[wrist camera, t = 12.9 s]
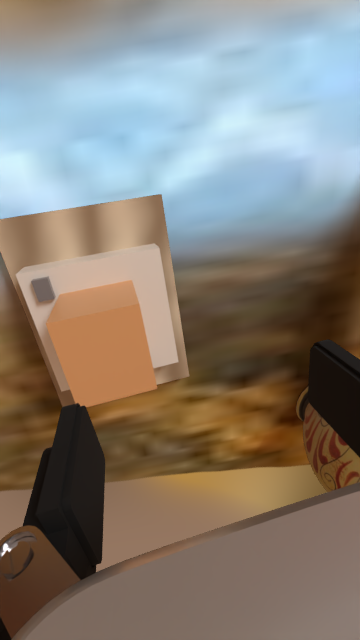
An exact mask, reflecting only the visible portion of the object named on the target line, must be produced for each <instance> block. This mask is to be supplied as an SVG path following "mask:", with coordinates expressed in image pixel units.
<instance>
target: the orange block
mask: <svg viewBox="0 0 360 640" xmlns="http://www.w3.org/2000/svg"><path fill="white" fill-rule="evenodd" d="M46 326H47V329H48V332H49V334H50V337H51V340H52V342H53V345H54V348H55V350H56V353H57V356H58V358H59V361H60V364H61V366H62V369H63V372H64V374H65V377H66V380H67V382H68V385H69V388H70V390H71V393H72V396H73V398H74V401H75V404H76V403H79V404H80V406H85V407H90V406H94V405H97V404H101V403H105V402H109V401H112V400H116V399H120V398H124V397H128V396H131V395H135V394H139V393H143V392H147V391H150V390H154V389H157V384H156V379H155V375H154V370H153V365H152V360H151V356H150V351H149V346H148V342H147V337H146V332H145V328H144V323H143V318H142V314H141V309H140V304H139V301H138V298H137V295H136V292H135V288H134V285H133V282H132V280H128V281H123V282H118V283H113V284H108V285H103V286H98V287H93V288H88V289H83V290H78V291H74V292H69V293H64V294H60V295H59V297H58V299H57V301H56V303H55V305H54V307H53V309H52V311H51V314H50V316H49V318H48V320H47V322H46Z"/></svg>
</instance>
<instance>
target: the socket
mask: <svg viewBox="0 0 360 640" xmlns="http://www.w3.org/2000/svg"><path fill="white" fill-rule="evenodd" d="M15 275H16V277H17V280H18V282H19V285H20V287H21V290H22V293H23V295H24V298H25V300H26V303H27V305H28V308H29V310H30V313H31V315H32V318H33V321H34V323H35V326H36V328H37V331H38V333H39V336H40V338H41V341H42V344H43V346H44V349H45V351H46V354H47V356H48V359H49V361H50V364H51V366H52V369H53V372H54V374H55V377H56V379H57V382H58V384H59V387H60V389H61V392H62V391H66V390H70V388H69V385H68V382H67V380H66V377H65V374H64V372H63V369H62V366H61V364H60V361H59V358H58V356H57V353H56V350H55V348H54V345H53V342H52V340H51V337H50V334H49V332H48V329H47V326H46V322H47V320H48V318H49V316H50V314H51V311H52V309H53V307H54V305H55V303H56V301H57V299H58V297H59V295H60V294H64V293H69V292H74V291H78V290H83V289H88V288H93V287H98V286H103V285H108V284H113V283H118V282H123V281H128V280H132V282H133V285H134V288H135V292H136V295H137V298H138V301H139V304H140V309H141V314H142V318H143V323H144V328H145V332H146V337H147V342H148V346H149V351H150V356H151V360H152V365H153V368H157V367H161V366H165V365H169V364H173V363H177V362H178V356H177V350H176V344H175V338H174V332H173V326H172V320H171V314H170V308H169V302H168V296H167V290H166V284H165V278H164V272H163V266H162V260H161V254H160V248H159V247H158V246H157V245H156V244H155V243H153V244H148V245H142V246H137V247H131V248H126V249H120V250H115V251H109V252H104V253H99V254H93V255H88V256H82V257H77V258H71V259H66V260H60V261H55V262H49V263H44V264H38V265H33V266H28V267H24V268H22V269H21V270H20V271H19V272H18V273H17V274H15Z"/></svg>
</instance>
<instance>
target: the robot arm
mask: <svg viewBox="0 0 360 640" xmlns="http://www.w3.org/2000/svg"><path fill="white" fill-rule="evenodd" d="M308 400H309V403H310V405H311V406H312V407H313V408H314V409H315V410H316V411H317V412H318V413H319V415H320V416H321V417H322V418H323V419H324V420H325V421H326V422H327V423H328V424H329V425H330V426H331V427H332V429H333V430H334V431H335V432H336V433H337V434H338V435H339V436H340V437H341V438H342V439H343V440H344V441H345V443H346V444H347V445H348V446H349V447H350V448H351V449H352V450H353V451H354V452H355V453H356V454H357V455H358V457H359V458H360V360H359V359H358V358H356V357H355V356H353V355H352V354H351V353H349V352H348V351H346V350H345V349H343V348H342V347H340V346H339V345H337V344H336V343H334V342H333V341H331V340H324V341H320V342H316V343H314V345H313V347H312V348H311V349H310V365H309V383H308ZM104 482H105V458H104V454H103V451H102V448H101V446H100V443H99V441H98V438H97V435H96V433H95V430H94V427H93V425H92V422H91V420H90V417H89V414H88V412H87V409H86V407H85V406H80V404H79V403H76V404H72V405H68V406H64V407H62V409H61V413H60V417H59V421H58V426H57V430H56V434H55V438H54V442H53V446H52V447H51V448H47V449H45V450H44V452H43V454H42V458H41V461H40V465H39V469H38V472H37V476H36V479H35V483H34V487H33V490H32V494H31V498H30V501H29V505H28V509H27V513H26V516H25V519H24V523H23V527H19V528H17V529H15V530H13V531H11V532H10V533H9V534H7V535H6V536H5V537H4V538H2V539H1V540H0V640H360V482H358V483H355V484H352V485H349V486H346V487H343V488H340V489H336V490H333V491H330V492H327V493H324V494H321V495H318V496H315V497H312V498H309V499H306V500H303V501H300V502H296V503H293V504H290V505H287V506H284V507H281V508H278V509H275V510H272V511H269V512H266V513H263V514H260V515H257V516H254V517H251V518H248V519H245V520H242V521H239V522H236V523H233V524H230V525H227V526H224V527H221V528H218V529H215V530H212V531H209V532H206V533H203V534H200V535H197V536H194V537H191V538H188V539H185V540H182V541H179V542H176V543H173V544H170V545H167V546H164V547H162V548H159V549H156V550H153V551H150V552H147V553H144V554H142V555H139V556H137V557H133V558H130V559H128V560H125V561H122V562H120V563H118V564H115V565H113V566H110V567H108V568H105V569H103V570H101V571H99V572H96V565H97V564H100V563H101V561H102V542H103V512H104Z"/></svg>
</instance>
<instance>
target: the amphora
mask: <svg viewBox="0 0 360 640" xmlns="http://www.w3.org/2000/svg"><path fill="white" fill-rule="evenodd" d="M296 413H297V416H298V417H299V419H300V420H302V421H303V422H304V425H303V440H304V445H305V450H306V454H307V457H308V460H309V462H310V465H311V467H312V469H313V471H314V474H315V475H316V476H317V478H318V480H319V482H320V483H321V484H322V486H323V487H324V489H325V490H326V491H327V492H330V491H333V490H336V489H340V488H343V487H346V486H349V485H352V484H355V483H358V482H360V458H359V457H358V455H357V454H356V453H355V452H354V451H353V450H352V449H351V448H350V447H349V446H348V445H347V444H346V443H345V441H344V440H343V439H342V438H341V437H340V436H339V435H338V434H337V433H336V432H335V431H334V430H333V429H332V427H331V426H330V425H329V424H328V423H327V422H326V421H325V420H324V419H323V418H322V417H321V416H320V415H319V413H318V412H317V411H316V410H315V409H314V408H313V407H312V406H311V405H310V403H309V400H308V387H307V388H306V389H305V390H304V391H303V392H302V393H301V395H300V397H299V399H298V401H297V405H296Z"/></svg>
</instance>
